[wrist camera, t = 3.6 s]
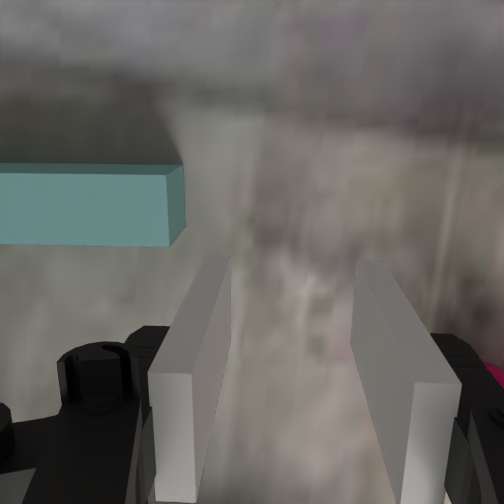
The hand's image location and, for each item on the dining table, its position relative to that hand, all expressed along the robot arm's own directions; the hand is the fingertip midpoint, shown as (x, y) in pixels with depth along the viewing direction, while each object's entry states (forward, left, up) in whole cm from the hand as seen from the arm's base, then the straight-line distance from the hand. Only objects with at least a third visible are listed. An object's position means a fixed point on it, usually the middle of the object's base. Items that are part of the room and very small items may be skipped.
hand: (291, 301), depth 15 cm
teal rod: (+16, 0, -17) cm, 23 cm away
